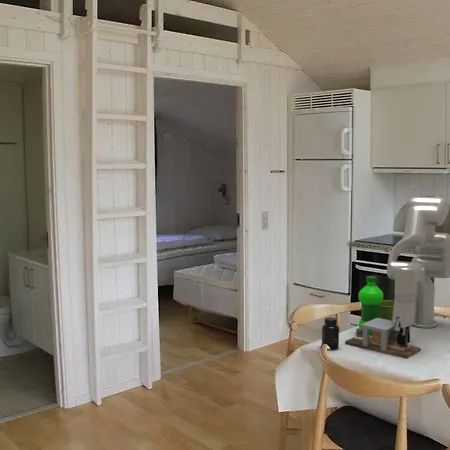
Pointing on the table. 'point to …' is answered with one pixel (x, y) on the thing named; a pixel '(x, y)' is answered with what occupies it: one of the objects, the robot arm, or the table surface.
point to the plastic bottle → (370, 301)
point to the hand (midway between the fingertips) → (403, 343)
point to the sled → (377, 339)
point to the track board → (394, 352)
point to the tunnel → (382, 327)
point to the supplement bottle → (330, 333)
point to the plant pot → (386, 309)
